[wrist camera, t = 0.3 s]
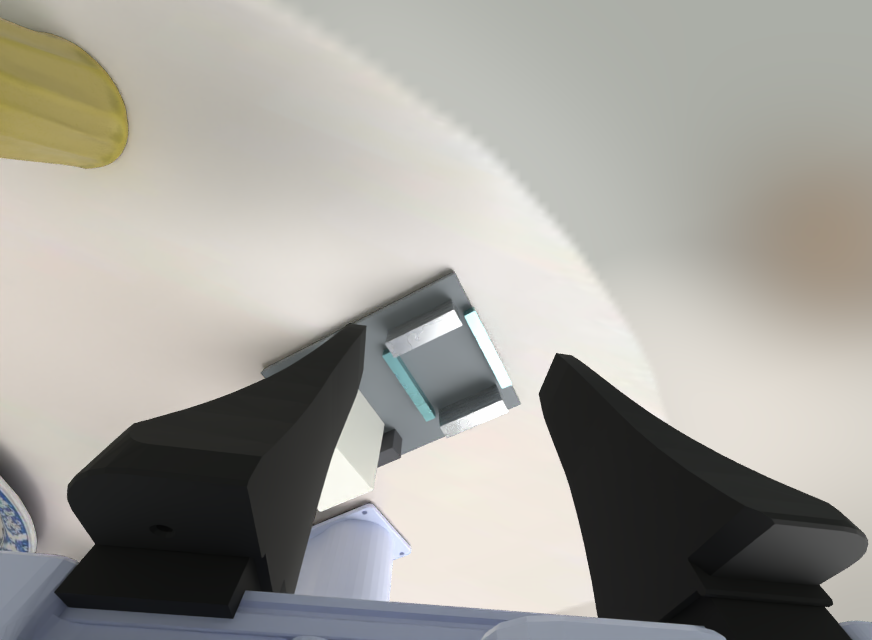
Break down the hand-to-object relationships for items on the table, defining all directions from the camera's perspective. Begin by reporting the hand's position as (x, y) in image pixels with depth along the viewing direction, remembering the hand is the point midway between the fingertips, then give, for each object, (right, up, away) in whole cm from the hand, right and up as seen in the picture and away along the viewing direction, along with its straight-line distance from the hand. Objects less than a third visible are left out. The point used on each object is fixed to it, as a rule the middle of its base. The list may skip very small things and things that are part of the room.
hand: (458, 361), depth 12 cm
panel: (-4, -3, +13) cm, 14 cm away
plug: (-8, -6, +13) cm, 16 cm away
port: (0, -2, +12) cm, 12 cm away
